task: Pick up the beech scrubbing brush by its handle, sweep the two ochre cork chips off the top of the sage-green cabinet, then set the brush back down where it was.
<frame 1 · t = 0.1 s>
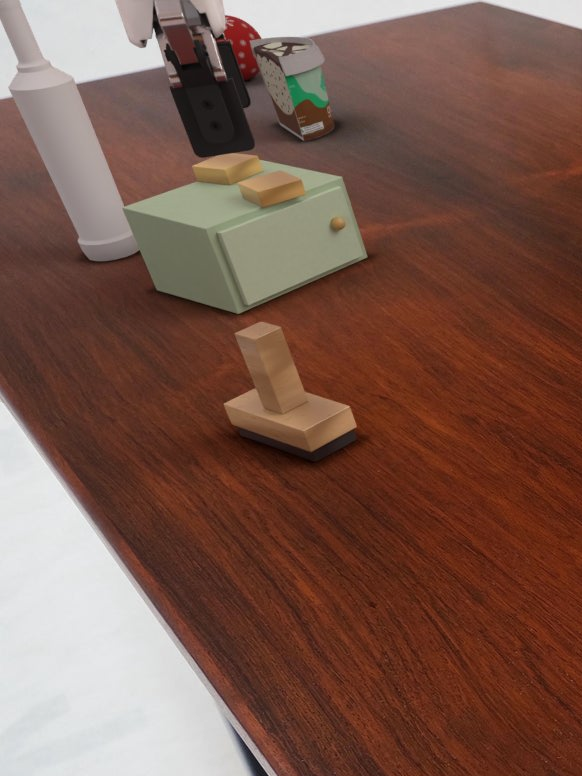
hand: (225, 130, 78), 24 cm above the table, tool pointing down, fingers open, 9 cm apart
brush: (298, 437, 95), on the table
food container: (317, 128, 160), on the table
bottle: (115, 253, 127), on the table
cork chip 1: (274, 196, 115), point 8 cm above the table, touching cabinet
cabinet: (264, 273, 121), on the table
christmas ornament: (241, 82, 179), on the table
cork chip 2: (230, 176, 120), point 8 cm above the table, touching cabinet
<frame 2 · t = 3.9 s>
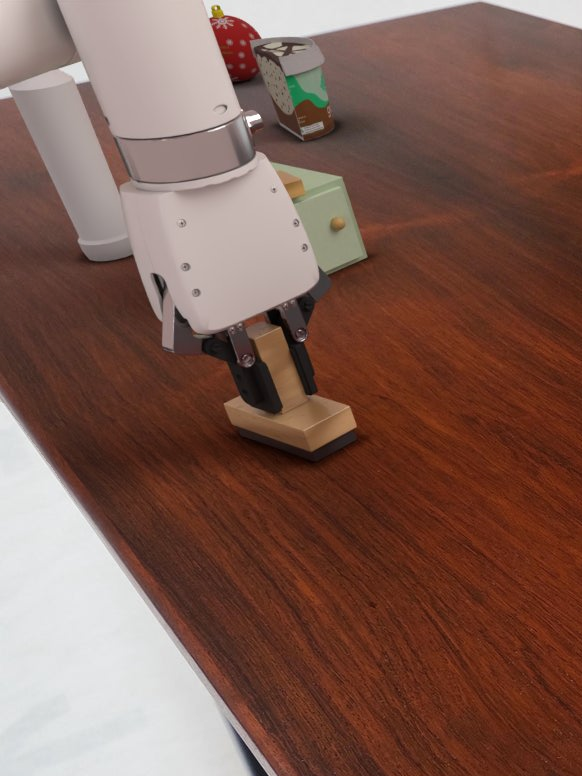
hand: (283, 397, 93), 3 cm above the table, tool pointing down, fingers closed on brush, 2 cm apart
brush: (298, 437, 95), on the table, touching gripper
everything else where it was.
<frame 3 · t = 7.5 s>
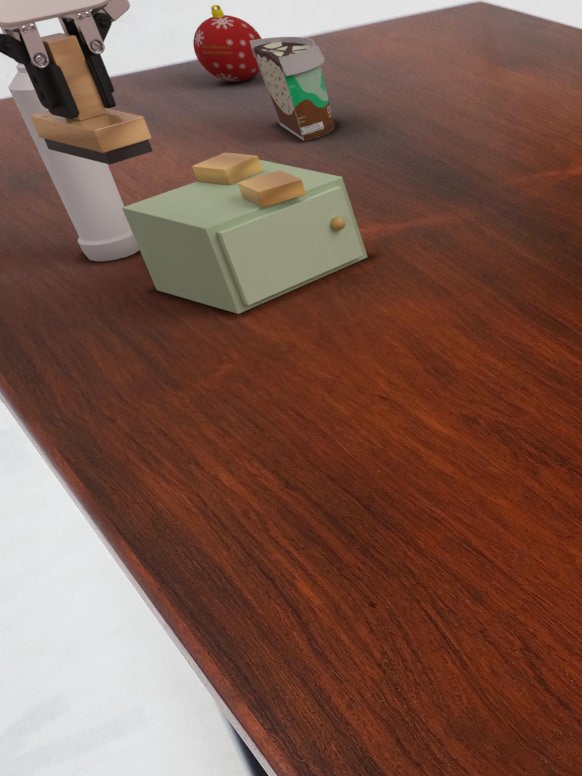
hand: (83, 108, 102), 19 cm above the table, tool pointing down, fingers closed on brush
brush: (100, 150, 104), point 16 cm above the table, touching gripper
everything else where it was.
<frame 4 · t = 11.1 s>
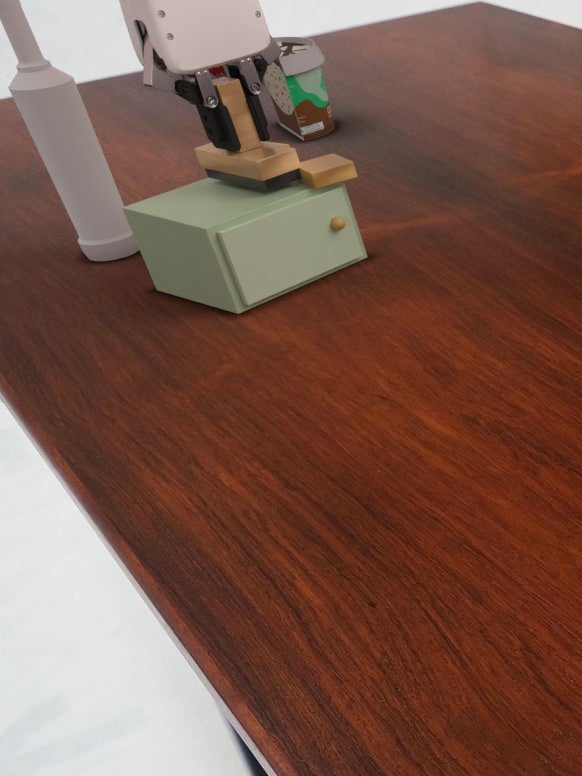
hand: (242, 142, 116), 12 cm above the table, tool pointing down, fingers closed on brush, 2 cm apart
brush: (254, 178, 118), point 9 cm above the table, touching cork chip 2, gripper
cork chip 1: (327, 178, 119), point 8 cm above the table, touching cabinet
cork chip 2: (262, 164, 123), point 8 cm above the table, touching brush
everything else where it was.
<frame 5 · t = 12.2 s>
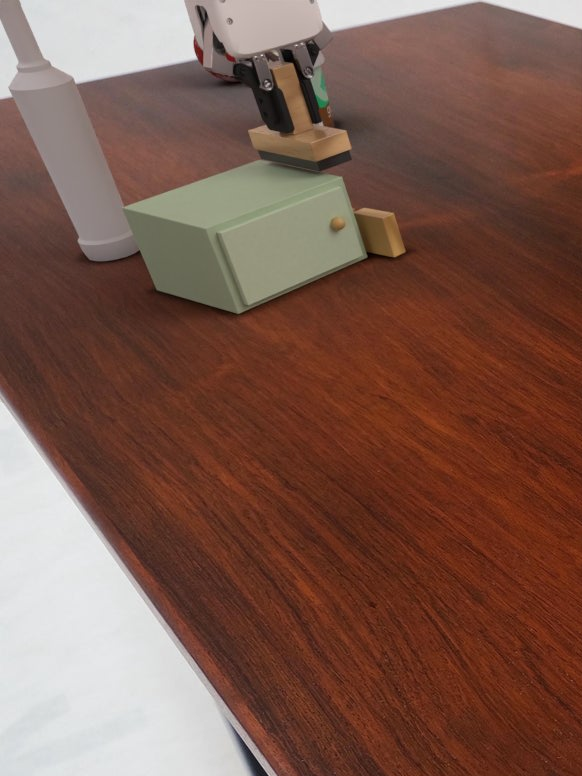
hand: (294, 124, 120), 12 cm above the table, tool pointing down, fingers closed on brush, 2 cm apart
brush: (306, 159, 122), point 9 cm above the table, touching gripper
cork chip 1: (373, 235, 123), point 2 cm above the table, tilted 89°
cork chip 2: (325, 211, 130), point 1 cm above the table, tilted 180°
everything else where it was.
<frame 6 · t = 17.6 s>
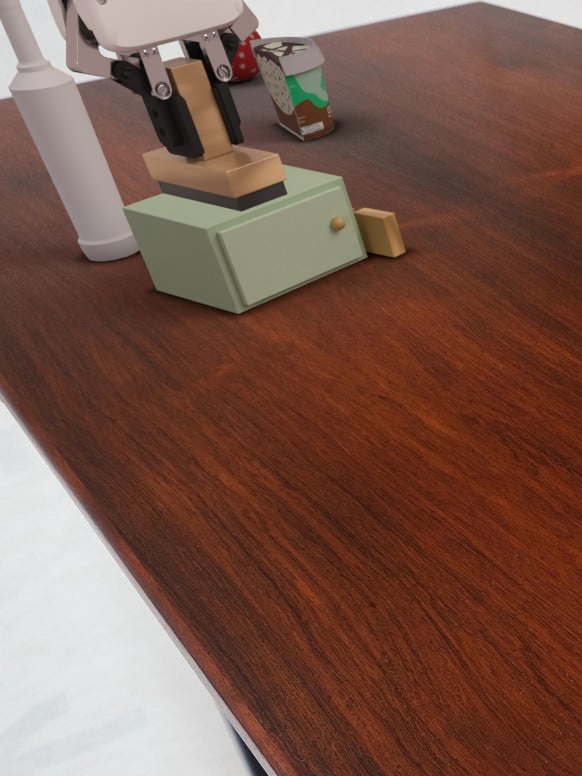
hand: (206, 146, 86), 21 cm above the table, tool pointing down, fingers closed on brush
brush: (224, 193, 88), point 17 cm above the table, touching gripper
everything else where it was.
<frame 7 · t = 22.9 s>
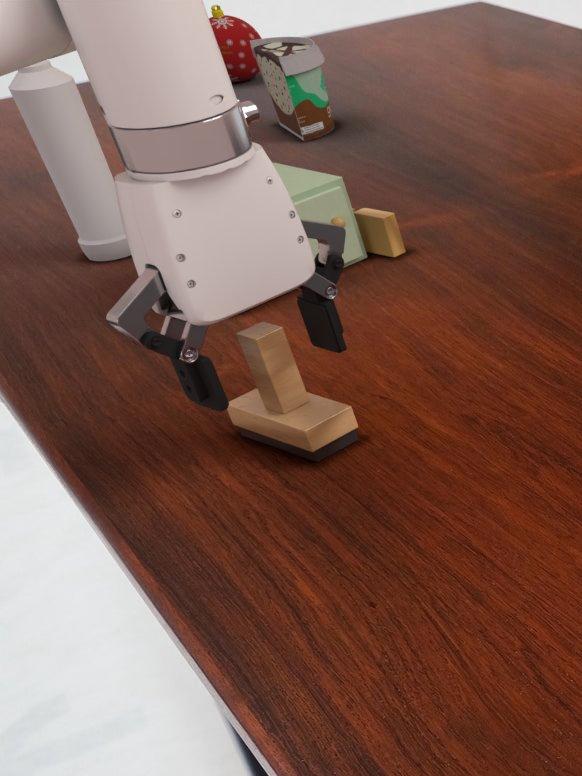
hand: (273, 376, 92), 5 cm above the table, tool pointing down, fingers open, 9 cm apart
brush: (300, 437, 95), on the table
everything else where it was.
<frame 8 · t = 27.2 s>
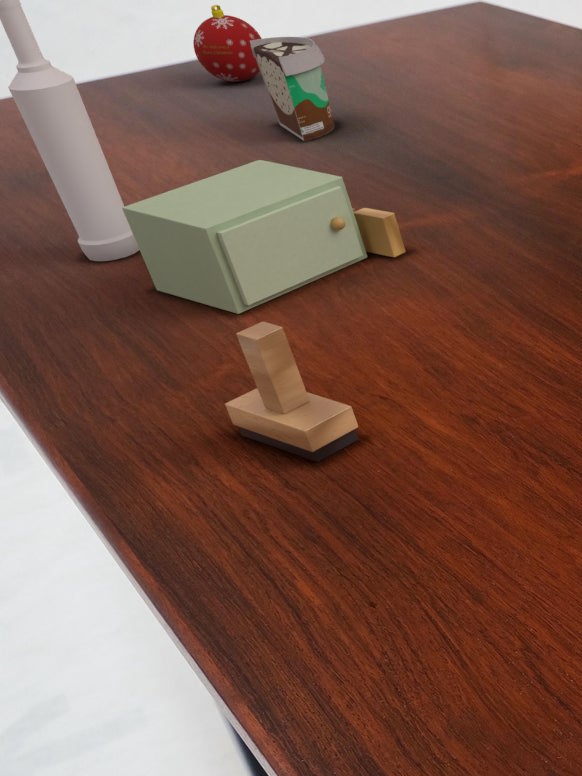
nothing on the table moved.
at the end: cork chip 1 point 2.0 cm above the table; cork chip 2 point 1.5 cm above the table; brush inside the target area (0.1 cm from its centre), on the table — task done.
